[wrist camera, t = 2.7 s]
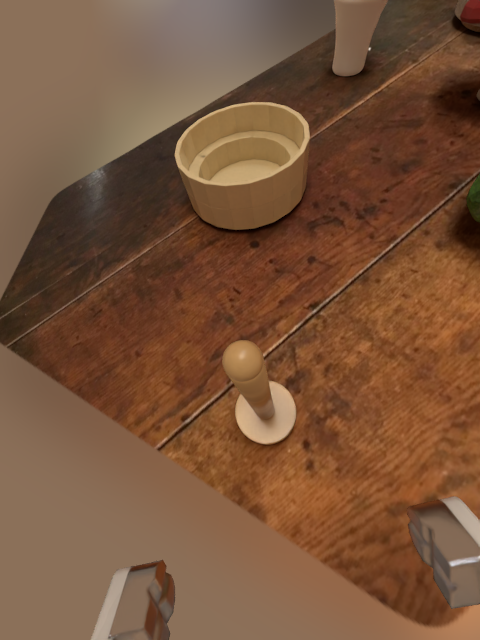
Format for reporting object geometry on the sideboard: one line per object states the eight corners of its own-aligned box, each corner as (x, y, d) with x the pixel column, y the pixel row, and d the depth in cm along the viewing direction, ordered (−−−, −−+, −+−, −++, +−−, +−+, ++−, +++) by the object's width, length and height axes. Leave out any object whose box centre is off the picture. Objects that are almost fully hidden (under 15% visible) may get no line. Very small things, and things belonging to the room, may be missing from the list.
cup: (344, 87, 46) (359, 0, 37) (314, 69, 50) (321, -13, 41) (387, 68, 47) (412, -22, 38) (354, 51, 51) (369, -33, 42)
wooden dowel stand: (273, 458, 23) (254, 470, 8) (227, 419, 24) (142, 369, 10) (306, 407, 24) (343, 337, 9) (260, 374, 26) (230, 272, 11)
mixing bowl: (258, 251, 33) (253, 204, 27) (170, 206, 39) (148, 160, 33) (327, 173, 37) (336, 117, 31) (238, 144, 43) (230, 93, 37)
